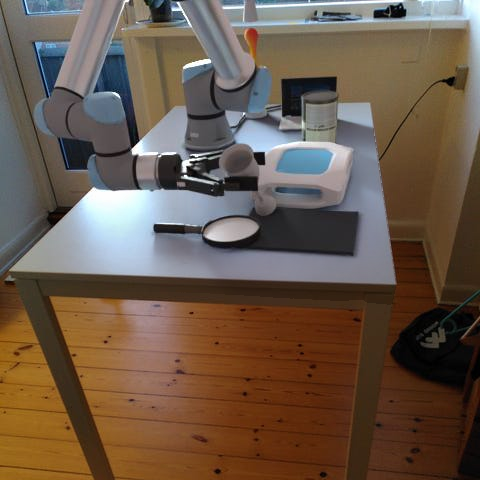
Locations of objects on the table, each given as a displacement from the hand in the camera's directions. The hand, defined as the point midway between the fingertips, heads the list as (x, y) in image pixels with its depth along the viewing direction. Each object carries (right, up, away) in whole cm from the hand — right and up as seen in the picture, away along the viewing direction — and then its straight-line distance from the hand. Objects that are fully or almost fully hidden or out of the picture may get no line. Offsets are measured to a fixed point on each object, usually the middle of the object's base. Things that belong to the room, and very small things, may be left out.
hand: (261, 170), depth 105 cm
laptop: (+18, +33, +63) cm, 73 cm away
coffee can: (+19, +21, +46) cm, 54 cm away
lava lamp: (+1, +41, +76) cm, 86 cm away
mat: (+8, -12, +4) cm, 15 cm away
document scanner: (+12, +3, +24) cm, 27 cm away
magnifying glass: (-12, -12, +5) cm, 18 cm away
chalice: (+1, -5, +10) cm, 12 cm away
